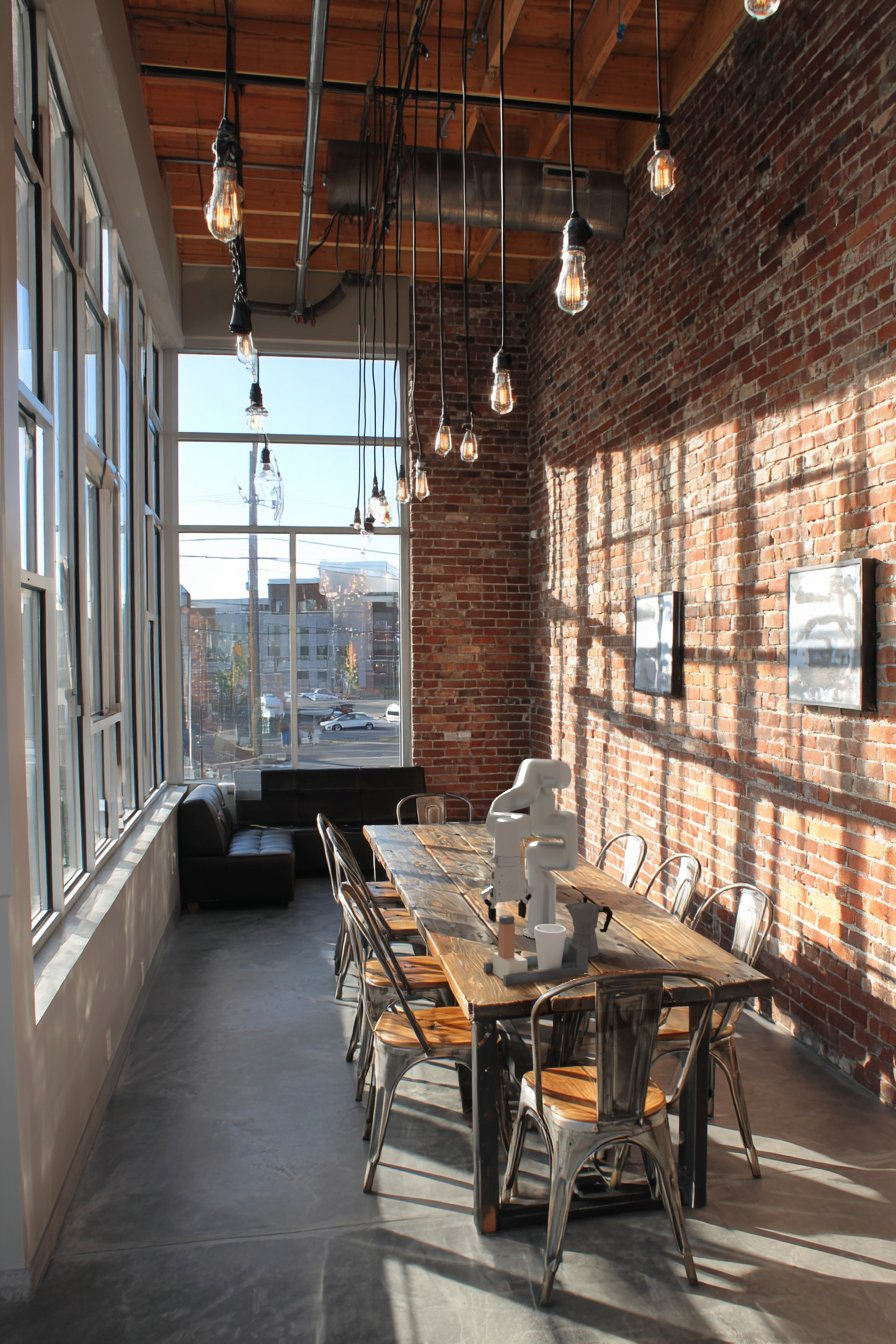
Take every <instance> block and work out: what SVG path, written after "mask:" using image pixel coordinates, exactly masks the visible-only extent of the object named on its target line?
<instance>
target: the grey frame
mask: <svg viewBox="0 0 896 1344" xmlns="http://www.w3.org/2000/svg"><path fill="white" fill-rule="evenodd" d="M522 957H523V958H525V959H527V969H529V968H536V967H538V958H537V954H536V955H531V956H528V955H527V956H522ZM483 973H484V974H494V973H493V960H491V961H485V962H483ZM584 973H588V974H589V957H588V947H587V946H585V945H583V944H581V943H579V942H577V941H575V940H573V939H572V938H571V937H569V936H567V935H566V938H565V943H564V950H563V957H562V964H561V967H558V968H551V969H544V970H539V969H538V970H530V971H527V972H522V973H515V974H508V975H504V976H503V979H502V980H503V981H502V982H503V984H502V985H503V986H504V987H514V986H520V985H526V984H534V983H542V982H546V981H554V980H562V979H568V978H569V977H570V978H574V977H573V976H576V977H579V976H580V975H579V974H584Z"/></svg>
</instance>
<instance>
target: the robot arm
mask: <svg viewBox="0 0 896 1344" xmlns="http://www.w3.org/2000/svg"><path fill="white" fill-rule="evenodd" d="M572 773H573V772H572V769H571V767H570V765H569V764H568V763H567V762H564V761H563V760H562V761H561V760H559V759H551V758H526V759H524V760H523V761H521V763H520V765H519V767H518V769H517V773H516V774H515V775H516V776H515V778H514V781H513V784H512V788H510V789H508V790H506V791H505V792H503V793H501V794H500V795H499V796H497V797H495V799H494V800H493V801H492V803H491V805H490V807H489V810H488V812H487V815H486V820H485V830H486V831H485V832H486V833H487V834H488V835H489V836H491V837H493V838H494V856H493V857H492V858H490V863H492V869H491V873H490V881H489V887H487V888H486V889H484V890H483V891H481V892H480V893H479V896H480V898H481V900H482V902H483V903H484V905H486V907H487V909H488V910H487V917H488V920H489V921H491V923H496V922H497V908H495V907H496V906H497V904H498V903H507V902H513V901H515V902H516V901H519V902H518V905H517V907H518V909H517V911H518V913H517V915H518V916H519V917H520V918H522V919H525V920H524V922H525V924H526V927H525V928H523V929H522V935H523V934H524V936H525V937H526V936H527V937H526V938H529V937H530V939H535V936H534V928H535V926H537V925H542V924H555V925H557V922H556V920H557V919H556V916H557V913H556V912H557V882H556V879H555V877H554V875H553V874H552V873H551V872H552V871H554V872H568V873H569V872H570V873H571V872H573V871H575V870H576V869H577V866H578V859H579V857H578V856H579V849H578V848H579V845H578V843H579V827H578V826H579V825H578V818H577V816H576V815H575V813H574V812H572V811H569V810H558V809H556V795H555V792H554V790H553V789H559V790H560V789H561V790H565V789H567V788H569V786H570V785H571V782H572V776H573V775H572ZM528 807H529V814H527V813H519V812H518V813H517V812H513V811H518V810H521V809H524V808H528ZM531 836H534V837H536V838H542V839H550V840H551V839H552V840H553V839H555V840H561V841H562V842H561V841H547V840H546V841H545V840H537V841H532V842H530V843H528V844H527V846H526V849H525V861H526V867H527V882H526V872H525V867H524V865H523V864H521V855H522V854H521V852H522V850H521V849H522V848H521V844H522V843H521V840H522V841H523V840H527V839H528V838H530V837H531ZM488 896H490V897H489V899H488ZM526 914H527V918H526Z"/></svg>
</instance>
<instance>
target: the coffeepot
mask: <svg viewBox="0 0 896 1344" xmlns="http://www.w3.org/2000/svg"><path fill="white" fill-rule="evenodd" d="M588 899H589V897H588V896H582V900H583V901H582V902H574V903H568V904H565V905H564V907H565V908H566V909H567V911H568V913H569V914H570V917H571V919H572V926H573V932H572V938H571V939H573V940H575V941H577V942H579V943H581V944H583V945H585V946H587V947H588V958H595V957H597V956H599V954H600V951H599V946H598V937H597V933H596V928H597V927H598V921H599V914H600V913H606V914H607V915H606V917H605V921H604V924H603V928H599V931H600V933H607V932H608V928H609V926H610V923H611V920H612V918H613V914H614V913H613V911H612V909H611V908H610V907H609V906H607V905H598V904H596V903H592V902H588Z"/></svg>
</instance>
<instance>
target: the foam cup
mask: <svg viewBox="0 0 896 1344" xmlns="http://www.w3.org/2000/svg"><path fill="white" fill-rule="evenodd" d="M534 936H535V946H536V955H537V958H538V966H537V967H538V970H544V969H551V968H558V967H561V964H562V957H563V950H564V943H565V938H566V936H567V928H566V927H565V926H563V925H560V924H556V925H555V924H542V925H537V926H535V928H534Z"/></svg>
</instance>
